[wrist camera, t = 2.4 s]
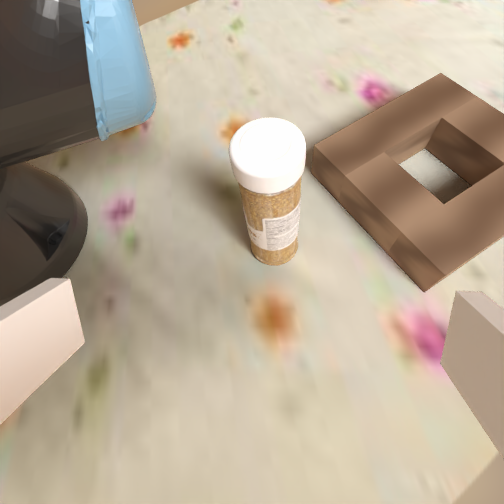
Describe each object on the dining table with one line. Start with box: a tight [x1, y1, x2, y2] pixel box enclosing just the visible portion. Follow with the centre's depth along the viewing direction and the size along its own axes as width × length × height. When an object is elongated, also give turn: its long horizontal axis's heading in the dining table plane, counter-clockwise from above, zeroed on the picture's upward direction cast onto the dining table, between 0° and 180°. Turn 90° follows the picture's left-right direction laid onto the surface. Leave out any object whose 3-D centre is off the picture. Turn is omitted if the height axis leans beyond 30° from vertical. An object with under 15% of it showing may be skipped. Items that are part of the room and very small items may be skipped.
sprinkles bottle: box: [229, 117, 306, 265], centre depth 24 cm, size 5×5×14 cm
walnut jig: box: [311, 73, 504, 292], centre depth 29 cm, size 16×16×4 cm
